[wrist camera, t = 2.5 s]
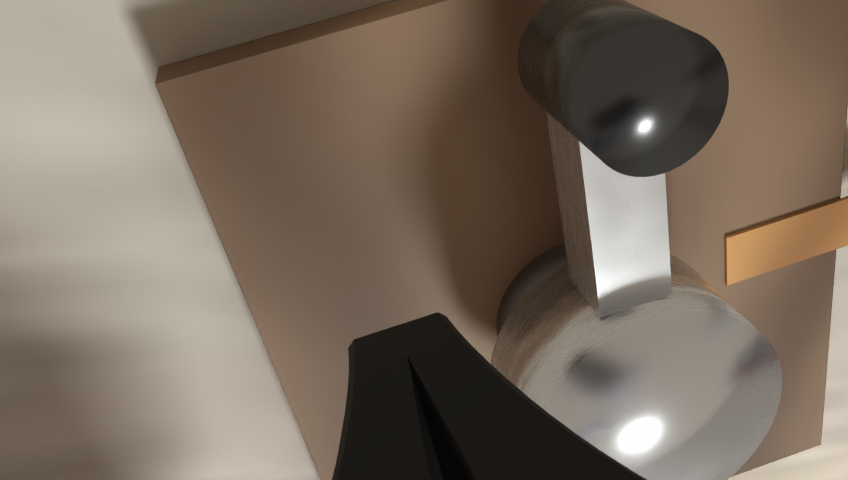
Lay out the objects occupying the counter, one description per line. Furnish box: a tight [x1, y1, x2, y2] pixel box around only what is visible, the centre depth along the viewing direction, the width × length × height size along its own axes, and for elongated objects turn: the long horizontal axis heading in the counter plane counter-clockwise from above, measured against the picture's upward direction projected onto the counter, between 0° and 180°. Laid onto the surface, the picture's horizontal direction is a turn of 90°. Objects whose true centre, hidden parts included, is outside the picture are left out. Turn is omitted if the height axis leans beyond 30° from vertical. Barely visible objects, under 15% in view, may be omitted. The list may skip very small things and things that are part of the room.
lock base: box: [155, 0, 848, 480], centre depth 21 cm, size 18×18×3 cm
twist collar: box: [490, 0, 782, 480], centre depth 16 cm, size 12×6×4 cm, turn 12°
